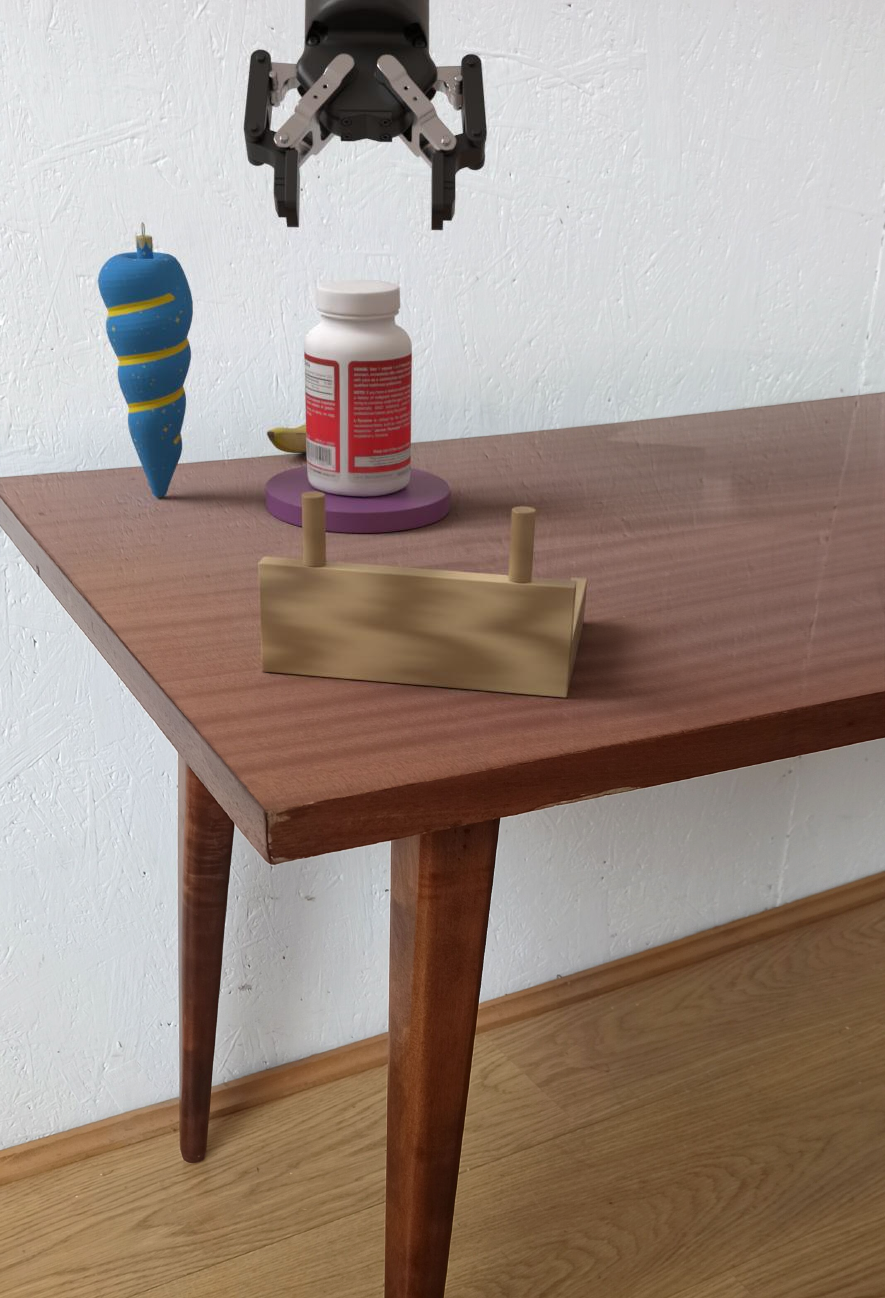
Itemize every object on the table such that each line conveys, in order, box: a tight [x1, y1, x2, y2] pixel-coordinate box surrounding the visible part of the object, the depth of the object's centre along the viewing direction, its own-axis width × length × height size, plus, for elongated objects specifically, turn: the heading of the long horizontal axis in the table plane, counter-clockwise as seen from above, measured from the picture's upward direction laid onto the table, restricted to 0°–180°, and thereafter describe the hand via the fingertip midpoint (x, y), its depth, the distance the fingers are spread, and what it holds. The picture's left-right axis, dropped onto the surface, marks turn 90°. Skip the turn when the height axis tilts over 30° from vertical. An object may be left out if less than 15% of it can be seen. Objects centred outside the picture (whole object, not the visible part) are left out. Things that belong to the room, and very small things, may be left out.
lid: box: [265, 465, 451, 534], centre depth 91 cm, size 11×11×1 cm
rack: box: [257, 491, 588, 699], centre depth 70 cm, size 14×10×8 cm
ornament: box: [97, 222, 194, 499], centre depth 88 cm, size 5×5×15 cm
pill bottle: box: [303, 279, 413, 497], centre depth 88 cm, size 6×6×11 cm
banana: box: [266, 423, 307, 454], centre depth 101 cm, size 8×2×4 cm, turn 153°
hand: (365, 220), depth 89 cm, fingers open, 8 cm apart
